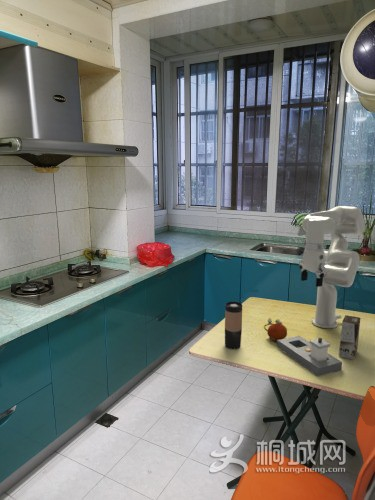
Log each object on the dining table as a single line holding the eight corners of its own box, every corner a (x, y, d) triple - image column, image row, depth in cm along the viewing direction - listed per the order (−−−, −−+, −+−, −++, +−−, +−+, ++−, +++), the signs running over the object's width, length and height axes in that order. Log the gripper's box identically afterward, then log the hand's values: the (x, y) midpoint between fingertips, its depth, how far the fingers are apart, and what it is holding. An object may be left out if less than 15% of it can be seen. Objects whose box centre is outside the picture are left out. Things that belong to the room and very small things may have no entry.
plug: (318, 360, 153) (320, 334, 150) (328, 366, 148) (330, 340, 145) (307, 363, 151) (309, 336, 148) (317, 369, 146) (320, 342, 143)
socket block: (298, 342, 169) (298, 334, 168) (341, 369, 146) (342, 361, 145) (277, 347, 164) (277, 339, 164) (318, 376, 141) (318, 367, 140)
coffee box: (354, 360, 153) (358, 324, 150) (338, 356, 157) (341, 321, 153) (357, 351, 161) (361, 317, 157) (342, 347, 164) (345, 314, 161)
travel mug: (242, 343, 168) (244, 302, 164) (239, 350, 161) (240, 308, 157) (226, 340, 170) (227, 300, 166) (222, 348, 163) (223, 306, 159)
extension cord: (291, 325, 190) (291, 321, 189) (282, 336, 176) (283, 332, 176) (269, 320, 196) (269, 316, 195) (258, 330, 183) (259, 327, 182)
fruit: (289, 339, 173) (290, 323, 171) (280, 345, 166) (281, 328, 165) (273, 333, 179) (274, 318, 177) (263, 339, 173) (264, 323, 171)
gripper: (335, 249, 155) (331, 287, 159) (307, 242, 171) (304, 277, 174) (321, 250, 152) (318, 289, 156) (294, 243, 168) (292, 279, 171)
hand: (311, 283), depth 165 cm, fingers open, 9 cm apart
